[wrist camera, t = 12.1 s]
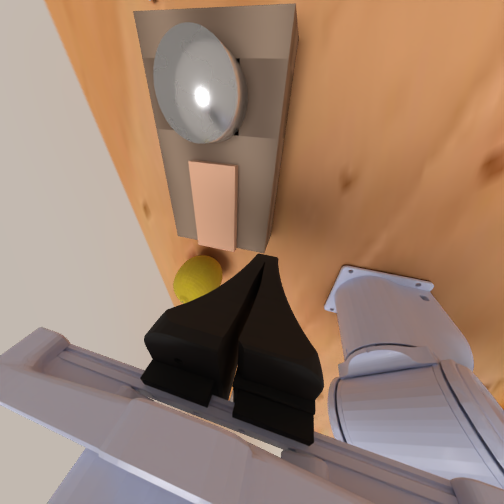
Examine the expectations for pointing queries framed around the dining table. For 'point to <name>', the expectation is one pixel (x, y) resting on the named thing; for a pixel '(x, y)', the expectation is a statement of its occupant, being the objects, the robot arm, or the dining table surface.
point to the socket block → (256, 119)
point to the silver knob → (199, 84)
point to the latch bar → (215, 203)
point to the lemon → (197, 278)
